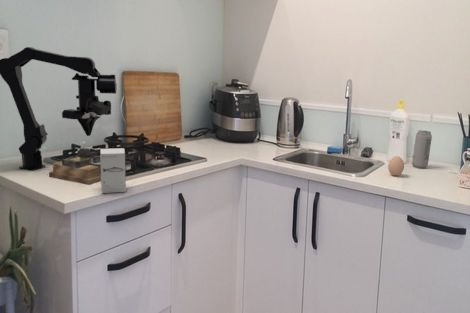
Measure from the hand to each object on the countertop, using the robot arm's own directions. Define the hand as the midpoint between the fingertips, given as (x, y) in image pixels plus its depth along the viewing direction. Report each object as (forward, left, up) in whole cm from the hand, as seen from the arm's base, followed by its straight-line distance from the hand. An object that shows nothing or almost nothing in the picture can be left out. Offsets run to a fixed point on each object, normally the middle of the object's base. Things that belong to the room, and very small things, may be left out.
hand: (88, 135), depth 154 cm
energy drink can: (+112, +70, -12) cm, 133 cm away
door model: (+7, -9, -12) cm, 16 cm away
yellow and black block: (+7, -11, -7) cm, 15 cm away
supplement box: (+26, -17, -12) cm, 33 cm away
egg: (+104, +50, -12) cm, 116 cm away
